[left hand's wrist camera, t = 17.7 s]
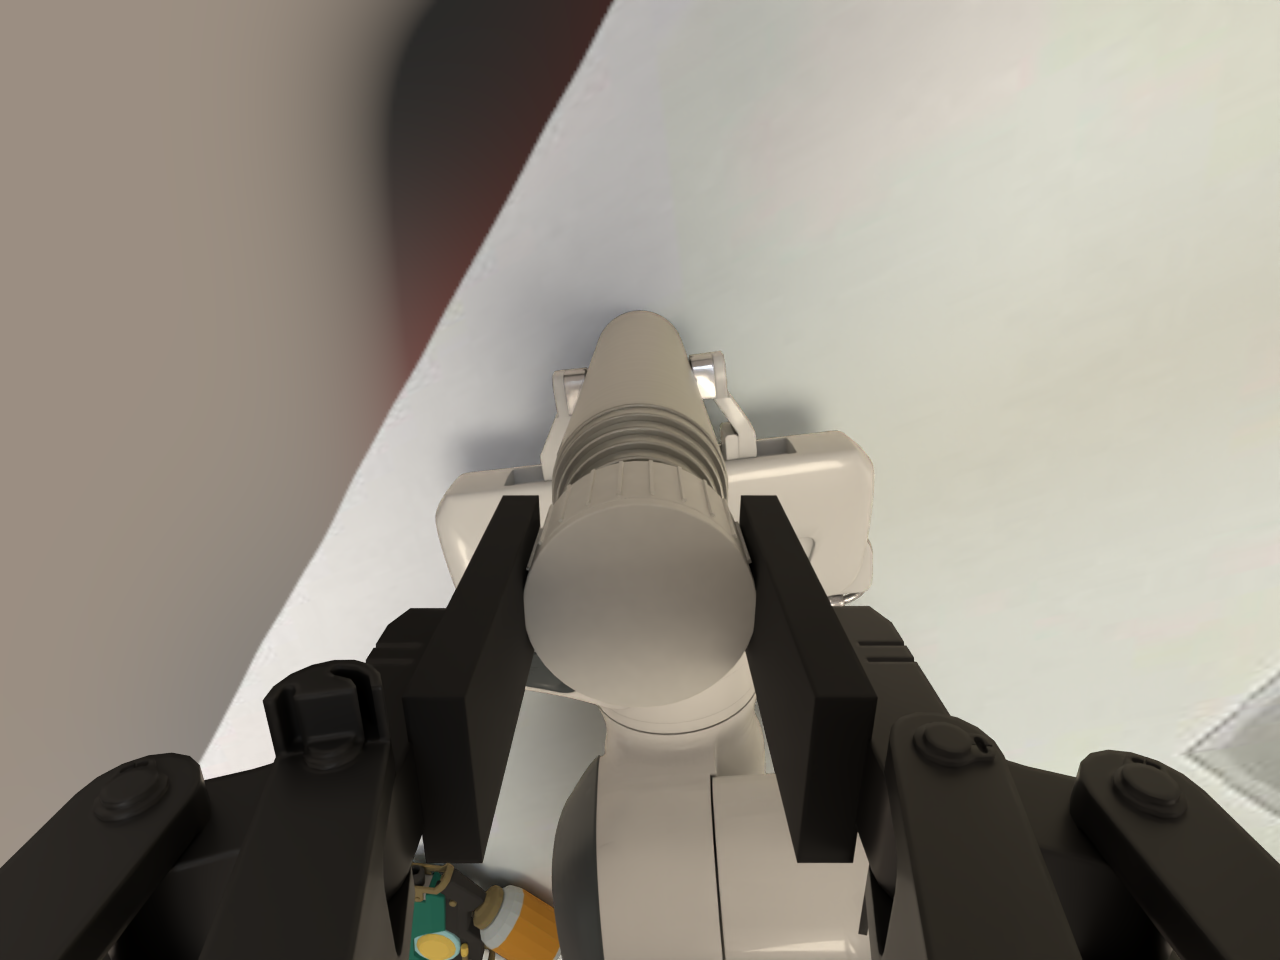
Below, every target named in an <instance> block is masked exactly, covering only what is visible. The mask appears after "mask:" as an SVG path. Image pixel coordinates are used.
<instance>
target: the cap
mask: <svg viewBox="0 0 1280 960" xmlns="http://www.w3.org/2000/svg"><path fill="white" fill-rule="evenodd" d="M749 563H752V562H751V559H750V556H749V553H748V550H747V547H746V544H745V541H744V538H743V535H742V532H741V529H740V526H739V523H738V521H736V522H735V521H734V518H733V516H732V514H731V512H730V510H729V508H728V504H727V501H726V500H725V498H723V499H722V498H721V497H720V496H719V495H718V494H717V493H716V492H715V491H714V490H713V489H712V488H711V487H710V486H709V485H708V484H707V481H706V480H704V479H703V480H701V479H700V478H698V477H696V476H694V475H693V474H691V473H689V472H687V471H685V470H682V467H680V466H678V467H675V466H671V465H667V464H664V463H658V462H653V460H649V461H630V462H623V461H619V463H617V464H613V465H608V466H605V467H603V468H600V469H597V470H595V469H593V470H591V473H589V474H587V475H585V476H583V477H582V478H581V479H579V480H578V481H576V482H575V483H574V484H572V485H571V484H569V485H568V486H567V489H566V491H565V492H564V493H563V494H562V495H561V496H560V497H559V499H558V500H557V501H556V502H555V504H554V505H552V504H551V505H550V507H549V510H548V513H547V516H546V519H545V522H544V525H543V528H539V532H538V535H537V538H536V541H535V544H534V547H533V550H532V553H531V556H530V559H529V562H528V565H527V568H526V570H527V571H529V572H528V576H527V579H526V583H525V587H524V612H525V626H526V631H527V634H528V637H529V639H530V642H531V644H532V646H533V648H534V650H535V652H536V653H537V655H538V656H539V658H540V659H541V661H542V662H543V663H544V665H545V666H546V667H547V668H548V669H549V670H550V671H551V672H552V673H553V674H554V675H555V676H556V677H557V678H558V679H559V680H561V681H562V682H563V683H564V684H566V685H567V686H569V687H570V688H572V689H574V690H575V691H577V692H579V693H581V694H583V695H585V696H587V697H589V698H592V699H595V700H597V701H600V702H603V703H608V704H612V705H616V706H624V707H640V708H646V707H657V706H663V705H668V704H673V703H676V702H680V701H683V700H686V699H688V698H691V697H693V696H695V695H697V694H700V693H701V692H703V691H705V690H706V689H708V688H710V687H711V686H713V685H714V684H715V683H717V682H718V681H719V680H721V679H722V678H723V677H724V676H725V675H726V674H727V673H728V672H729V671H730V670H731V669H732V668H733V667H734V666H735V665H736V663H737V662H738V661H739V659H740V658H741V657H742V655H743V653H744V651H745V650H746V648H747V646H748V644H749V642H750V639H751V637H752V634H753V631H754V620H755V606H756V587H755V583H754V579H753V575H752V572H751V569H750V566H749Z"/></svg>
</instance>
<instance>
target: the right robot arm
mask: <svg viewBox="0 0 1280 960" xmlns="http://www.w3.org/2000/svg"><path fill="white" fill-rule="evenodd" d="M689 363H690V366H691V369H692V371H693V374H694V377H695V380H696V383H697V386H698V388H699V391H700V394H701V397H702V399H712V398H713V400H714V401H715V403H716V404H717V405H718V407H719V408H720V409H721V411H722V412H723V414H724V415H725V416H726V418H727V419H728V421H729V422H725V423H722V424H721V425H720V434H721V444H718V445H719V447H720V450H721V453H722V456H723V459H724V462H725V465H726V469H727V474H728V503H727V504H728V508H729V510H730V512H731V514H732V516H733V518H734V521H735V522H736V521H738V523H739V517H740V500H741V495H777V497H778V499H779V501H780V503H781V505H782V507H783V509H784V511H785V513H786V515H787V517H788V519H789V521H790V523H791V525H792V527H793V529H794V531H795V533H796V535H797V537H798V539H799V541H800V543H801V545H802V547H803V549H804V551H805V553H806V555H807V557H808V559H809V561H810V563H811V565H812V567H813V569H814V571H815V573H816V575H817V577H818V579H819V581H820V583H821V585H822V587H823V589H824V591H825V593H826V595H827V597H828V599H829V601H830V603H831V605H832V606H845V605H844V604H847V603H849V602H852V601H854V600H856V599H857V598H859V597H860V596H861V595H862V594H863V593H864V592H865V591H867V590H868V589H869V588H870V586H871V583H872V578H873V550H872V546H871V543H870V541H869V539H868V533H869V527H870V521H871V513H872V504H873V493H874V467H873V464H872V462H871V459H870V458H869V456H868V455H867V454H866V452H865V451H864V450H863V449H862V448H861V447H860V446H859V445H858V444H857V443H856V442H855V441H853V440H852V439H851V438H850V437H848V436H847V435H846V434H844V433H843V432H841V431H826V432H817V433H809V434H800V435H791V436H783V437H774V438H765V439H756V433H755V430H754V428H753V427H752V425H751V423H750V421H749V419H748V418H747V416H746V415H745V414H744V412H743V411H742V409H741V408H740V407H739V405H738V404H737V402H736V401H735V400H734V398H733V397H732V395H731V394H730V393H729V391H728V390H727V380H726V368H725V360H724V355H723V353H722V352H721V351H716V352H707V353H700V354H693V355H689ZM587 371H588V370H587V368H577V369H567V370H559V371H555V372H554V374H553V376H552V381H553V391H554V397H555V402H556V408H557V414H556V417H555V419H554V422H553V424H552V427H551V429H550V432H549V435H548V437H547V440H546V442H545V445H544V447H543V450H542V452H541V455H540V460H541V464H539V465H530V466H522V467H513V468H504V469H496V470H487V471H478V472H469V473H464V474H462V475H460V476H459V477H458V478H457V479H456V480H455V481H454V483H453V484H452V485H451V486H450V487H449V489H448V490H447V491H446V493H445V495H444V496H443V498H442V500H441V501H440V503H439V505H438V508H437V511H436V527H437V532H438V536H439V540H440V543H441V547H442V550H443V554H444V557H445V560H446V563H447V566H448V569H449V572H450V575H451V577H452V580H453V583H454V585H455V588H457V586H458V584H459V582H460V580H461V578H462V576H463V574H464V572H465V570H466V568H467V566H468V564H469V562H470V560H471V558H472V556H473V554H474V552H475V550H476V548H477V546H478V544H479V542H480V540H481V538H482V536H483V534H484V532H485V530H486V528H487V526H488V524H489V522H490V520H491V518H492V516H493V514H494V512H495V510H496V508H497V506H498V504H499V502H500V500H501V498H502V496H503V495H539V508H540V525H541V528H543V525H544V522H545V519H546V516H547V513H548V510H549V507H550V505H551V504H552V505H553V503H552V475H553V469H554V465H555V462H556V458H557V455H558V453H559V450H560V447H561V444H562V440H563V438H564V435H565V433H566V430H567V427H568V425H569V422H570V419H571V416H572V413H573V410H574V408H575V405H576V402H577V399H578V396H579V394H580V391H581V388H582V385H583V382H584V379H585V377H586V374H587ZM849 593H850V594H849ZM843 594H847V595H845V596H843ZM525 690H530V691H536V692H542V693H548V694H553V695H559V696H563V697H568V698H573V699H577V700H581V701H585V702H588V703H592V704H595V705H598V707H599V709H600V711H601V713H602V715H603V717H604V720H605V723H606V728H607V734H606V739H605V755H603V756H598V757H597V758H596V759H595V760H594V761H593V762H592V763H591V764H590V766H589V767H588V768H587V769H586V771H585V772H584V774H583V775H582V777H581V779H580V780H579V782H578V783H577V785H576V787H575V788H574V790H573V791H572V793H571V795H570V796H569V798H568V799H567V801H566V803H565V806H564V808H563V810H562V813H561V816H560V819H559V822H558V826H557V830H556V835H555V841H554V849H553V859H552V892H553V904H554V913H555V921H556V927H557V934H558V940H559V945H560V950H561V955H562V960H871V950H870V940H869V930H868V933H867V936H866V935H861V934H858V931H859V924H860V917H861V911H862V905H863V898H864V892H865V886H866V880H867V874H868V867H869V862H868V859H867V856H866V853H865V851H864V848H863V845H862V842H861V839H860V837H859V834H857V840H856V847H855V854H854V861H853V863H797V860H796V856H795V852H794V848H793V844H792V840H791V836H790V832H789V828H788V824H787V819H786V815H785V811H784V807H783V803H782V799H781V795H780V791H779V787H778V783H777V779H776V775H775V773H770V774H765V749H764V738H763V733H762V729H761V726H760V723H759V721H758V719H757V717H756V715H755V712H754V705H755V702H756V699H757V697H756V693H755V689H754V685H753V681H752V677H751V673H750V669H749V665H748V661H747V657H746V652H745V651H744V653H743V655H742V657H741V658H740V659H739V661H738V662H737V663H736V665H735V666H734V667H733V668H732V669H731V670H730V671H729V672H728V673H727V674H726V675H725V676H724V677H723V678H722V679H721V680H719V681H718V682H717V683H715V684H714V685H713V686H711V687H710V688H708V689H706V690H705V691H703V692H701V693H700V694H697V695H695V696H693V697H691V698H688V699H686V700H683V701H680V702H676V703H673V704H668V705H663V706H657V707H646V708H640V707H624V706H616V705H612V704H608V703H603V702H600V701H597V700H595V699H592V698H589V697H587V696H585V695H583V694H581V693H579V692H577V691H575V690H574V689H572V688H570V687H569V686H567V685H566V684H564V683H563V682H562V681H561V680H559V679H558V678H557V677H556V676H555V675H554V674H553V673H552V672H551V671H550V670H549V669H548V668H547V667H546V666H545V665H544V663H543V662H542V661H541V659H540V658H539V656H538V655H537V653H536V652H535V651H534V655H533V659H532V663H531V667H530V671H529V675H528V679H527V683H526V687H525Z"/></svg>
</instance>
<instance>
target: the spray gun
mask: <svg viewBox="0 0 1280 960" xmlns="http://www.w3.org/2000/svg"><path fill="white" fill-rule="evenodd" d="M411 867H412V874H413V880H414V887H415V900H414V911H413V921H412V931H411V942H410V952H409V960H482V958H483V954H484V949H488V950H489V951H490V952H489V958H488V960H495V952H496V953H497V954H499V955H500V956H502V957H504V958H505V959H507V960H557V959H558V958H559V956H560V954H561V950H560V945H559V940H558V934H557V927H556V921H555V913H554V908H553V907H551V906H550V905H548V904H547V903H545V902H543V901H542V900H540V899H539V898H537V897H535V896H534V895H532V894H530V893H529V892H527V891H526V890H524V889H522V888H520V887H517V886H512V885H508V886H506V887H504V888H501V887H499V886H497V885H494V886H492V887H490V888H489V889H488V890H487V891H486V892H485V891H484V890H483V889H482V888H481V887H479V886H478V885H477V884H475V883H474V882H473V881H471V880H470V879H468V878H467V877H466V876H464V875H463V874H462V873H460V872H459V871H458V870H456V869H454V866H453V865H452V864H450V863H446V864H445V865H444V866H438V865H430V864H422V863H413V862H412V864H411ZM431 871H436V872H434V873H433V875H431ZM439 872H445V873H444V874H443V875H442V876H441V875H440V873H439ZM473 910H475V913H474V918H473V917H472V911H473Z"/></svg>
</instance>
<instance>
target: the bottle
mask: <svg viewBox="0 0 1280 960" xmlns="http://www.w3.org/2000/svg"><path fill="white" fill-rule="evenodd" d="M649 460H653V462H658V463H664V464H667V465H671V466H675V467H678V466H680V467H682V470H685V471H687V472H689V473H691V474H693V475H694V476H696V477H698V478H700V479H701V480H703V479H704V480H706V481H707V484H708V485H709V486H710V487H711V488H712V489H713V490H714V491H715V492H716V493H717V494H718V495H719V496H720V497H721V498H722V499H723V498H725V500H726V501H727V503H728V474H727V469H726V465H725V462H724V459H723V456H722V453H721V450H720V447H719V445H718V442H717V439H716V436H715V433H714V431H713V428H712V425H711V422H710V419H709V416H708V414H707V411H706V408H705V405H704V402H703V400H702V397H701V394H700V391H699V388H698V386H697V383H696V380H695V377H694V374H693V371H692V369H691V366H690V363H689V360H688V357H687V355H686V352H685V349H684V346H683V343H682V340H681V338H680V336H679V334H678V332H677V330H676V329H675V327H674V326H673V325H672V324H671V323H670V322H669V321H668V320H667V319H665V318H663V317H662V316H660V315H658V314H656V313H653V312H649V311H631V312H627V313H624V314H622V315H620V316H618V317H616V318H615V319H614V320H612V321H611V322H610V323H609V324H608V325H607V326H606V327H605V329H604V330H603V332H602V333H601V335H600V338H599V340H598V343H597V346H596V348H595V351H594V354H593V357H592V360H591V363H590V365H589V368H588V371H587V374H586V377H585V379H584V382H583V385H582V388H581V391H580V394H579V396H578V399H577V402H576V405H575V408H574V410H573V413H572V416H571V419H570V422H569V425H568V427H567V430H566V433H565V436H564V439H563V441H562V444H561V447H560V450H559V453H558V455H557V458H556V462H555V465H554V469H553V475H552V503H553V505H554V504H555V502H556V501H557V500H558V499H559V497H560V496H561V495H562V494H563V493H564V492H565V491H566V489H567V486H568V485H569V484H571V485H572V484H574V483H575V482H576V481H578V480H579V479H581V478H582V477H583V476H585V475H587V474H589V473H591V470H593V469H595V470H597V469H600V468H603V467H605V466H608V465H613V464H617V463H619V461H623V462H630V461H649Z"/></svg>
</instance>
